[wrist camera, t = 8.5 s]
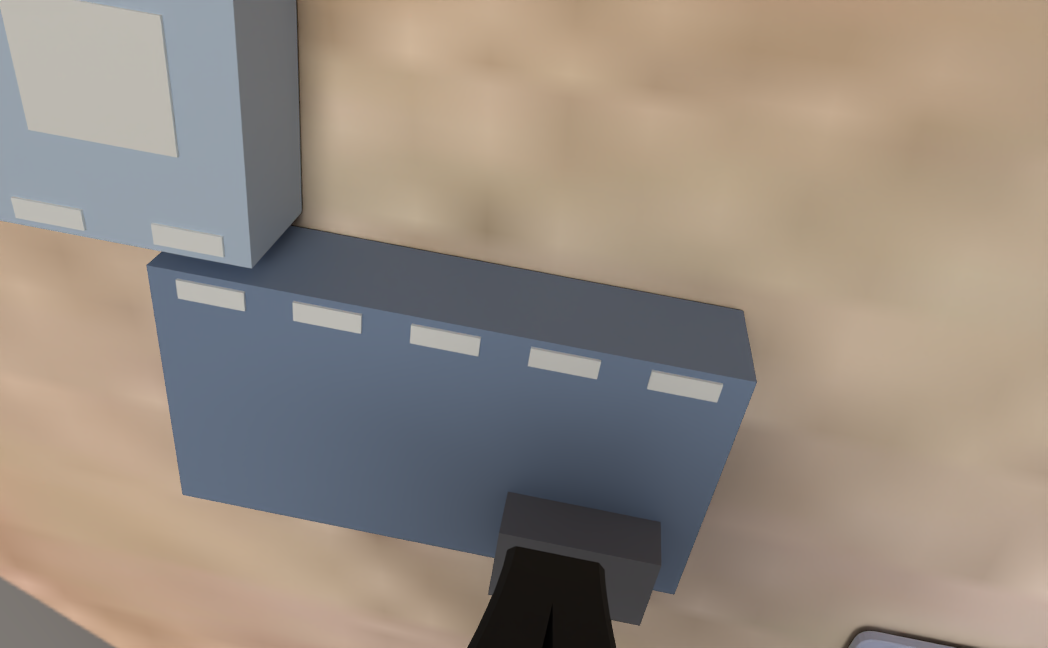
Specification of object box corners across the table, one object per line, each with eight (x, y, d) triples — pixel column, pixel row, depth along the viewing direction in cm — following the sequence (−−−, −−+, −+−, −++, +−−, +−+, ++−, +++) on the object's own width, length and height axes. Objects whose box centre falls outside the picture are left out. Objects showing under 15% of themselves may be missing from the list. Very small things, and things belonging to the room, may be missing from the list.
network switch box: (743, 310, 20) (764, 423, 16) (671, 513, 24) (675, 639, 20) (208, 210, 20) (111, 296, 16) (230, 425, 24) (156, 532, 21)
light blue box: (294, -64, 16) (228, -41, 14) (302, 212, 20) (250, 270, 17) (19, -112, 16) (-97, -99, 14) (76, 169, 20) (-8, 221, 17)
